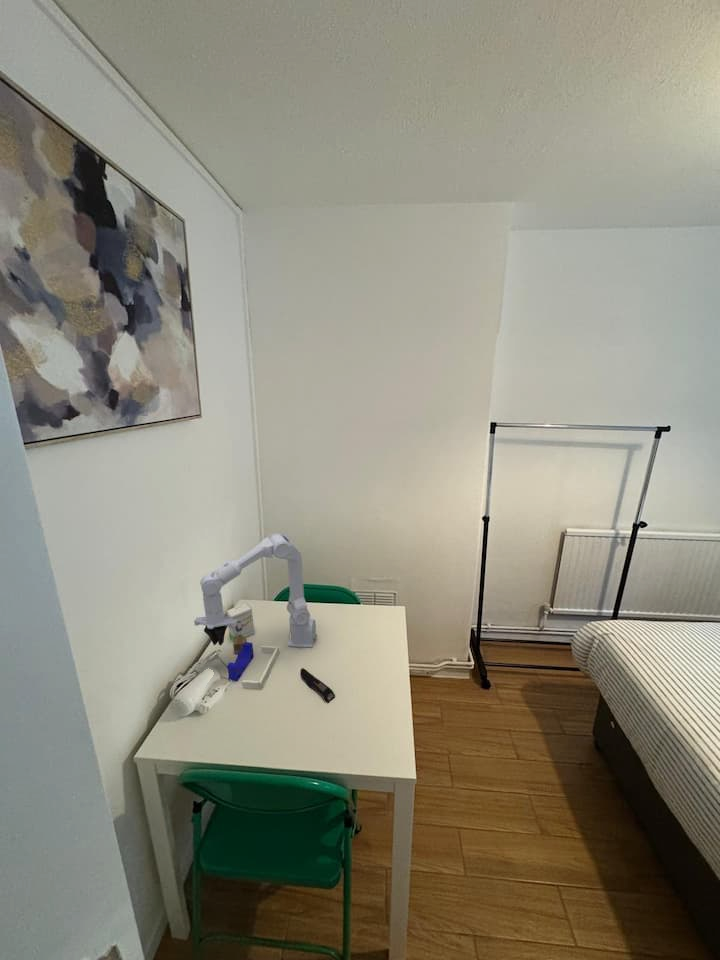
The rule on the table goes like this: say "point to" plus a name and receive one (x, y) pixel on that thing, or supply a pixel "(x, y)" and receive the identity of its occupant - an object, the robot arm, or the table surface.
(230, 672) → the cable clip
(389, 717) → the table surface
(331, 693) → the electric trimmer
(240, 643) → the walnut block
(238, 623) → the ink box
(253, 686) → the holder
